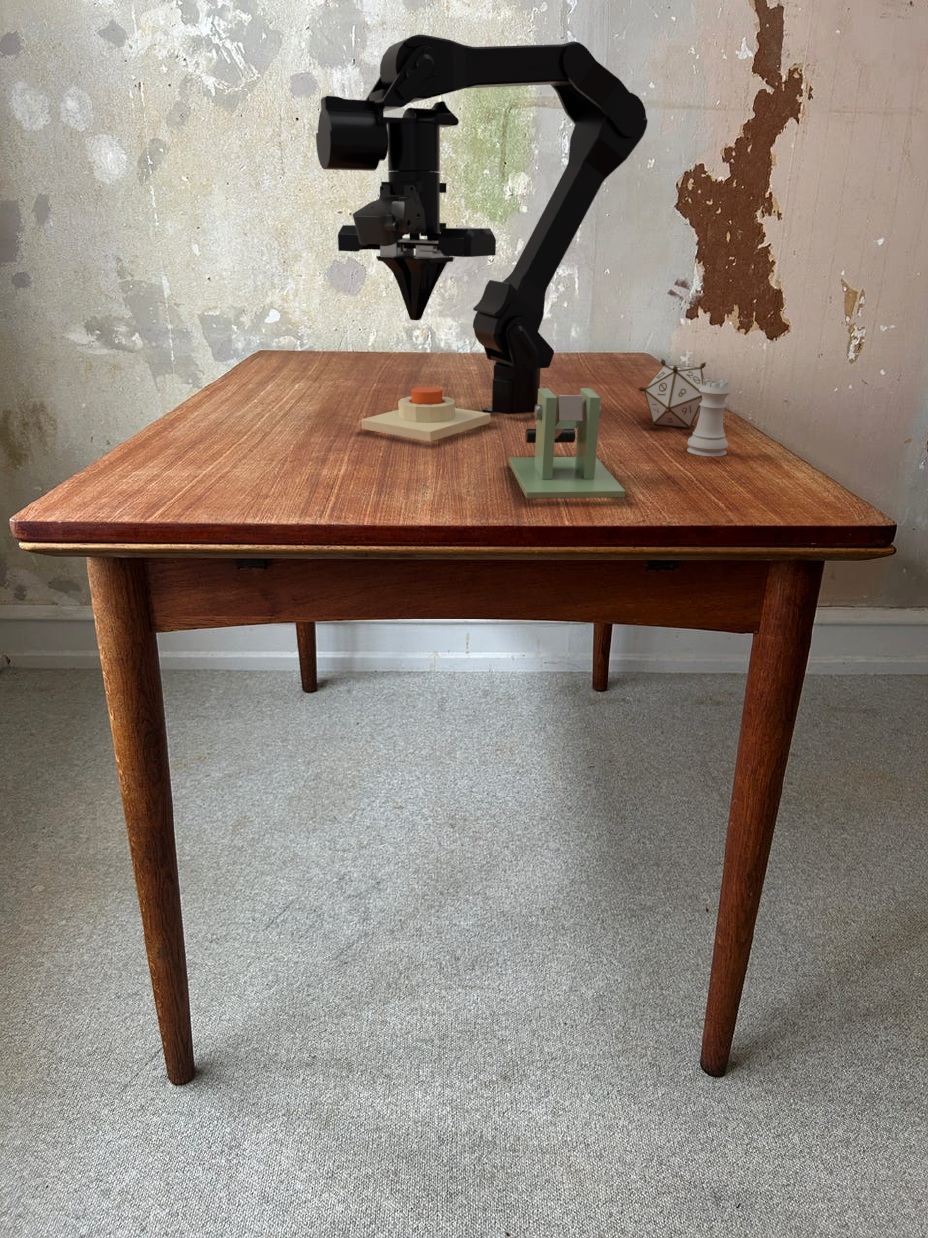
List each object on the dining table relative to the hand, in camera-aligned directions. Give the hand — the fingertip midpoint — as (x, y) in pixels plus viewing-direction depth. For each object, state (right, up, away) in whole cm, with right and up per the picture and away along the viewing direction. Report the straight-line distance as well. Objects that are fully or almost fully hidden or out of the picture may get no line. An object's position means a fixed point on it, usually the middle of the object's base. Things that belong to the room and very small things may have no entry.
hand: (415, 319), depth 105 cm
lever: (+15, -17, -18) cm, 30 cm away
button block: (+1, -13, 0) cm, 13 cm away
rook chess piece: (+32, -18, -9) cm, 38 cm away
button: (+1, -10, -1) cm, 10 cm away
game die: (+31, -13, +3) cm, 34 cm away
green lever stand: (+15, -22, -19) cm, 33 cm away
